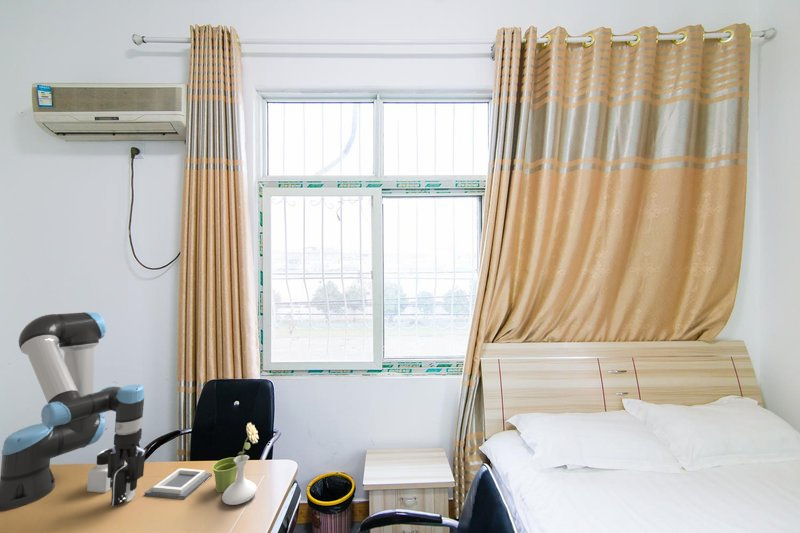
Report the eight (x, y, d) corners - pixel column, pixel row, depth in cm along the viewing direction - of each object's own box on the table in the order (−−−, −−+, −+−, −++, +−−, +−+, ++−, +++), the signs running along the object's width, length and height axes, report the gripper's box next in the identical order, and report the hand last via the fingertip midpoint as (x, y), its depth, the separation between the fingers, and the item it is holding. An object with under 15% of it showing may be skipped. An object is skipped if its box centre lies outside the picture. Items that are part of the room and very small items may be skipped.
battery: (121, 507, 109) (123, 472, 110) (109, 507, 109) (111, 472, 110) (137, 493, 116) (139, 461, 117) (126, 494, 116) (128, 461, 117)
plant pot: (205, 492, 118) (206, 468, 118) (225, 478, 127) (226, 455, 127) (224, 497, 115) (226, 473, 116) (244, 482, 124) (245, 459, 125)
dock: (144, 495, 116) (144, 488, 116) (175, 472, 130) (175, 466, 130) (184, 499, 114) (185, 491, 114) (211, 476, 128) (212, 469, 128)
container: (125, 480, 124) (127, 446, 125) (105, 493, 117) (107, 456, 118) (107, 479, 125) (109, 445, 126) (86, 491, 117) (88, 455, 118)
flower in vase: (242, 511, 109) (245, 435, 110) (214, 506, 111) (217, 432, 112) (266, 487, 121) (268, 420, 123) (239, 483, 124) (242, 417, 125)
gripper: (95, 433, 111) (90, 503, 110) (140, 437, 109) (135, 508, 108) (117, 424, 119) (112, 489, 117) (159, 427, 117) (155, 493, 115)
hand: (123, 498), depth 113 cm, fingers closed on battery, 4 cm apart
